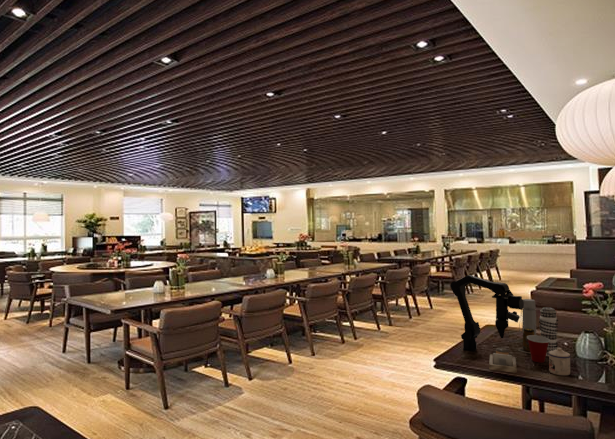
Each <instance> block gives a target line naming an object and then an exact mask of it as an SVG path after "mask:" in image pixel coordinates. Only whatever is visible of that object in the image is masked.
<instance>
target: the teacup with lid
mask: <svg viewBox="0 0 615 439" xmlns="http://www.w3.org/2000/svg"><path fill="white" fill-rule="evenodd" d="M548 354H549V356H548V361H549V362H548V365H549V366H548V367H549V368H548V371H549V373H551V374H553V375H557V376H569V375H571V354H570V353H569V352H566V351H564V350H563V349H562V347H557V350H554V351H550V352H549V353H548Z"/></svg>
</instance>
